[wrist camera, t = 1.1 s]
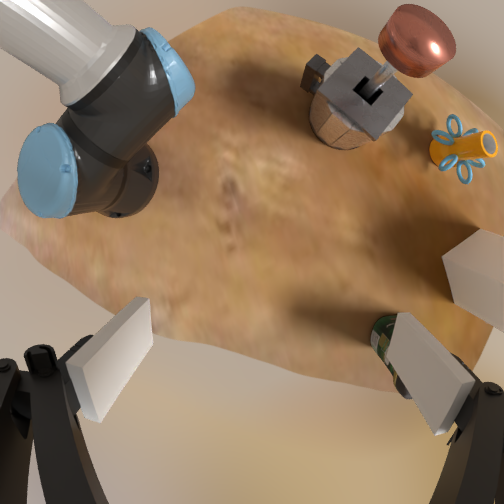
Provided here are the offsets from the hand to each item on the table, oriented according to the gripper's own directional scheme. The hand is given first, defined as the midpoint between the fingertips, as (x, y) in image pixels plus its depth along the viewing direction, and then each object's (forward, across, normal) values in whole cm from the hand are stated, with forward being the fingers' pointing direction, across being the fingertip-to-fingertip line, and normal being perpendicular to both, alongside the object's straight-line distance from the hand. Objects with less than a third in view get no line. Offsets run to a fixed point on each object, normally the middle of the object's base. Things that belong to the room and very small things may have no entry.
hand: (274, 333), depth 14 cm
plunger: (+26, +11, +20) cm, 35 cm away
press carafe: (+35, +10, +21) cm, 42 cm away
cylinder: (+35, +32, +18) cm, 50 cm away
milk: (+34, +42, -4) cm, 54 cm away
